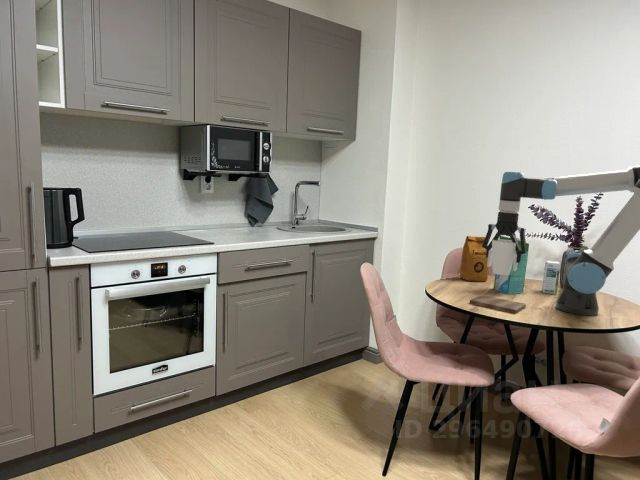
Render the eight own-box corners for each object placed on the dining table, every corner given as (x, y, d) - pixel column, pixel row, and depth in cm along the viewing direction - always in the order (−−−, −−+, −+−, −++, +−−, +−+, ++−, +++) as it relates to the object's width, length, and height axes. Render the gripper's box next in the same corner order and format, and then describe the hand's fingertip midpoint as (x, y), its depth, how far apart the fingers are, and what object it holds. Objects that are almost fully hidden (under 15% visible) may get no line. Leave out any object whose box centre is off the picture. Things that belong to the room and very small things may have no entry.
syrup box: (543, 292, 222) (547, 261, 220) (541, 290, 228) (545, 259, 226) (556, 294, 220) (561, 263, 218) (555, 291, 226) (559, 261, 224)
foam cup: (486, 273, 190) (490, 240, 189) (490, 269, 199) (494, 238, 197) (512, 277, 186) (516, 243, 184) (515, 273, 194) (519, 241, 192)
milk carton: (523, 293, 218) (530, 238, 215) (507, 294, 215) (514, 238, 211) (508, 288, 227) (515, 235, 223) (493, 289, 223) (499, 235, 220)
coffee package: (489, 283, 236) (494, 238, 233) (464, 281, 235) (469, 237, 232) (481, 278, 246) (486, 235, 243) (457, 277, 245) (462, 234, 242)
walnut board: (525, 307, 194) (525, 303, 194) (515, 313, 184) (516, 310, 183) (481, 298, 205) (481, 294, 205) (469, 303, 195) (469, 299, 194)
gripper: (541, 214, 185) (533, 272, 188) (483, 208, 198) (477, 262, 202) (535, 215, 179) (528, 274, 183) (477, 209, 193) (471, 264, 196)
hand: (501, 268), depth 192 cm, fingers closed on foam cup, 9 cm apart
